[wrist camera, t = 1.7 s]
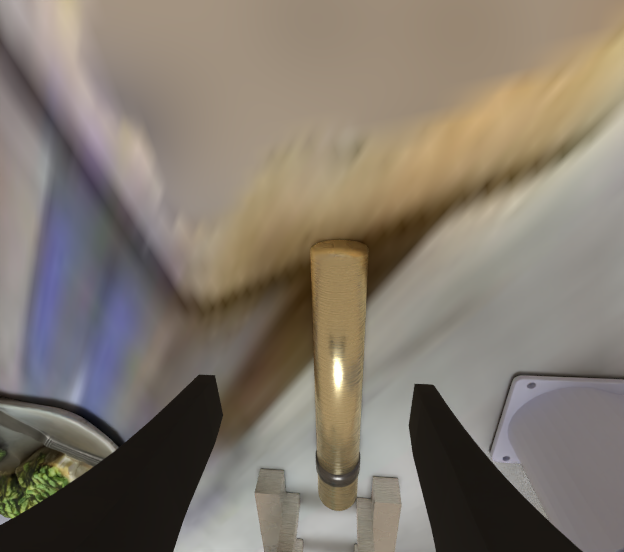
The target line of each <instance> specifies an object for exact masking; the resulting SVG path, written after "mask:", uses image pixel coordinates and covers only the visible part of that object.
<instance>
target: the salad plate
mask: <svg viewBox="0 0 624 552" xmlns="http://www.w3.org/2000/svg"><path fill="white" fill-rule="evenodd" d="M118 448H119V447H118V446H117V445H116V444H115V443H114V442H113V441H112V440H111V439H110V438H109V437H107V436H106V435H105V434H104V433H103V432H101V431H100V430H99V429H98V428H96V427H95V426H94V425H92V424H91V423H90V422H89V421H87V420H86V419H84V418H82V417H81V416H78V415H76V414H74V413H72V412H69V411H67V410H64V409H61V408H58V407H51V406H44V405H38V404H33V403H28V402H23V401H17V400H13V399H9V398H3V397H0V514H2V515H3V516H4V517H7V518H11V519H12V518H14V517H16V516H17V515H19V514H21V513H23V512H24V511H26V510H28V509H29V508H31V507H33V506H34V505H36V504H38V503H39V502H41V501H43V500H44V499H46V498H47V497H49V496H51V495H52V494H54V493H55V492H57V491H59V490H60V489H62V488H63V487H64V486H66V485H67V484H69V483H70V482H72V481H73V480H75V479H76V478H78V477H79V476H81V475H82V474H84V473H85V472H87V471H88V470H90V469H91V468H92V467H94V466H95V465H97V464H98V463H99V462H101V461H102V460H103V459H105V458H106V457H107V456H109V455H110V454H111V453H113V452H114V451H115V450H116V449H118Z"/></svg>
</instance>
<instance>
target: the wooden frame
mask: <svg viewBox="0 0 624 552" xmlns="http://www.w3.org/2000/svg"><path fill="white" fill-rule="evenodd" d="M255 498H256V504H257V511H258V517H259V523H260V529H261V535H262V541H263V547H264V552H303V539H296V536H297V527H298V518H299V510H300V494H299V493H286V488H285V478H284V470H270V469H260V472H259V477H258V481H257V485H256V489H255ZM356 510H357V544H355V545H354V552H394V551H395V544H396V538H397V531H398V524H399V518H400V511H401V497H400V490H399V483H398V478H385V477H373V482H372V494H371V499H366V498H357V507H356Z"/></svg>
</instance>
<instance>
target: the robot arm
mask: <svg viewBox="0 0 624 552" xmlns="http://www.w3.org/2000/svg"><path fill="white" fill-rule="evenodd" d="M529 383H531V384H529ZM222 417H223V413H222V408H221V403H220V398H219V393H218V388H217V383H216V378H215V375H198V376H197V377H196V378H195V379H194V380H193V381H192V382H191V383H190V384H189V385H188V386H187V387H186V388H185V389H184V390H183V391H181V392H180V393H179V394H178V395H177V396H176V397H175V398H174V399H173V400H172V401H171V402H170V403H169V404H168V405H167V406H166V407H165V408H164V409H163V410H162V411H160V412H159V413H158V414H157V415H156V416H155V417H154V418H153V419H152V420H151V421H150V422H148V423H147V424H146V425H145V426H144V427H143V428H142V429H140V430H139V431H138V432H137V433H136V434H135V435H133V436H132V437H131V438H130V439H129V440H128V441H126V442H125V443H124V444H123V445H121V446H120V447H119V448H118V449H116V450H115V451H114V452H113V453H111V454H110V455H109V456H107V457H106V458H105V459H103V460H102V461H101V462H99V463H98V464H97V465H95V466H94V467H92V468H91V469H90V470H88V471H87V472H85V473H84V474H82V475H81V476H79V477H78V478H76V479H75V480H73V481H72V482H70V483H69V484H67V485H66V486H64V487H63V488H62V489H60V490H59V491H57V492H55V493H54V494H52V495H51V496H49V497H47V498H46V499H44V500H43V501H41V502H39V503H38V504H36V505H34V506H33V507H31V508H29V509H28V510H26V511H24V512H23V513H21V514H19V515H17V516H16V517H14V518H12V519H10V520H9V521H7V522H5V523H3V524H1V525H0V552H173V551H174V548H175V545H176V541H177V538H178V535H179V532H180V529H181V526H182V523H183V520H184V517H185V515H186V512H187V510H188V507H189V505H190V502H191V500H192V497H193V495H194V493H195V490H196V488H197V485H198V483H199V481H200V478H201V476H202V474H203V471H204V469H205V466H206V464H207V462H208V459H209V457H210V454H211V452H212V449H213V447H214V444H215V442H216V438H217V435H218V432H219V428H220V424H221V421H222ZM409 430H410V438H411V445H412V452H413V457H414V461H415V465H416V469H417V473H418V477H419V481H420V485H421V489H422V493H423V497H424V501H425V505H426V509H427V513H428V517H429V521H430V525H431V529H432V533H433V538H434V543H435V548H436V552H624V379H599V378H574V377H550V376H525V375H522V376H517V377H515V378H514V379H513V381H512V384H511V387H510V390H509V394H508V397H507V400H506V403H505V407H504V410H503V413H502V416H501V420H500V423H499V426H498V429H497V432H496V436H495V439H494V442H493V445H492V449H491V452H490V456H491V459H492V460H493V461H495V462H502V463H518V464H521V465H522V467H523V469H524V471H525V473H526V475H527V477H528V479H529V481H530V483H531V485H532V487H533V489H534V491H535V493H536V495H537V497H538V499H539V501H540V503H541V505H542V507H543V509H544V511H545V513H546V515H547V517H548V519H549V521H550V522H549V521H548V520H547V519H546V518H545V517H544V516H543V515H542V514H541V513H540V512H539V511H538V510H537V509H536V508H535V507H534V506H533V505H532V504H531V503H530V502H529V501H528V500H527V499H526V498H524V496H523V495H522V494H521V493H520V492H519V491H518V490H517V489H516V488H515V487H514V486H513V485H512V484H511V483H510V482H509V481H508V480H507V479H506V478H505V476H504V475H503V474H502V473H501V472H500V471H499V470H498V469H497V468H496V466H495V465H494V464H493V463H492V462H491V461H490V459H489V458H488V457H487V456H486V455H485V454H484V452H483V451H482V450H481V449H480V448H479V446H478V445H477V444H476V443H475V441H474V440H473V439H472V438H471V436H470V435H469V434H468V432H467V431H466V430H465V429H464V427H463V426H462V425H461V423H460V422H459V421H458V419H457V418H456V416H455V415H454V414H453V412H452V411H451V410H450V408H449V407H448V405H447V404H446V402H445V401H444V399H443V398H442V397H441V395H440V394H439V392H438V391H437V389H436V387H435V386H434V385H429V384H415V386H414V393H413V400H412V407H411V414H410V421H409Z"/></svg>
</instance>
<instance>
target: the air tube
mask: <svg viewBox="0 0 624 552" xmlns="http://www.w3.org/2000/svg"><path fill="white" fill-rule="evenodd" d="M310 254H311V284H312V314H313V344H314V374H315V404H316V435H317V450H316V469H317V473H318V492H319V497H320V499H321V501H322V502H323V504H324V505H325V506H327V507H328V508H330V509H332V510H336V511H342V510H345V509H348V508H349V507H351V506H352V505H353V503H354V502H355V500H356V497H357V484H358V474H359V470H360V452H359V442H360V420H361V399H362V378H363V356H364V335H365V314H366V293H367V271H368V247H367V246H366V245H364V244H362V243H360V242H357V241H352V240H327V241H322V242H319V243H317V244H315V245H313V246H312V247H311V249H310Z"/></svg>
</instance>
